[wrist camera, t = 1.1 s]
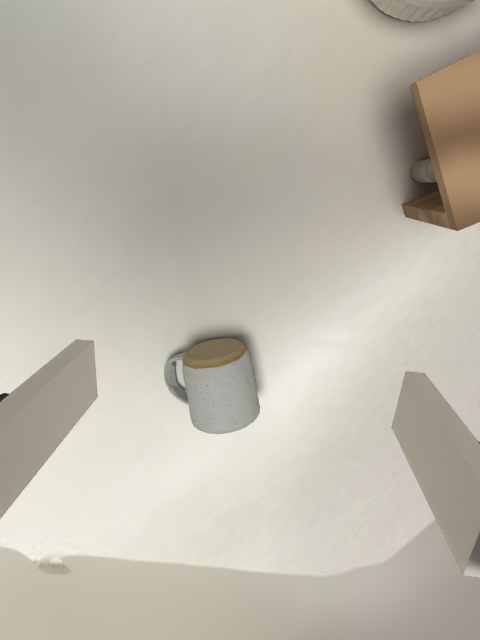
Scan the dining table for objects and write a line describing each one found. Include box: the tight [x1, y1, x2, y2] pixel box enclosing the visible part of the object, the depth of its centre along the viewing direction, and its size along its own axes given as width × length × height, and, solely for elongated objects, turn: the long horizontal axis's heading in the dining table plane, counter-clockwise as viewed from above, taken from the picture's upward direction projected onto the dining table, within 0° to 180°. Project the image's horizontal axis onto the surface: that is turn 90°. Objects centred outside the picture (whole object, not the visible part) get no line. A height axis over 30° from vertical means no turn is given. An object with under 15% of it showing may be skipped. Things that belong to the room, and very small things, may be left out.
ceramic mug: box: [164, 338, 260, 434], centre depth 41 cm, size 11×8×8 cm
